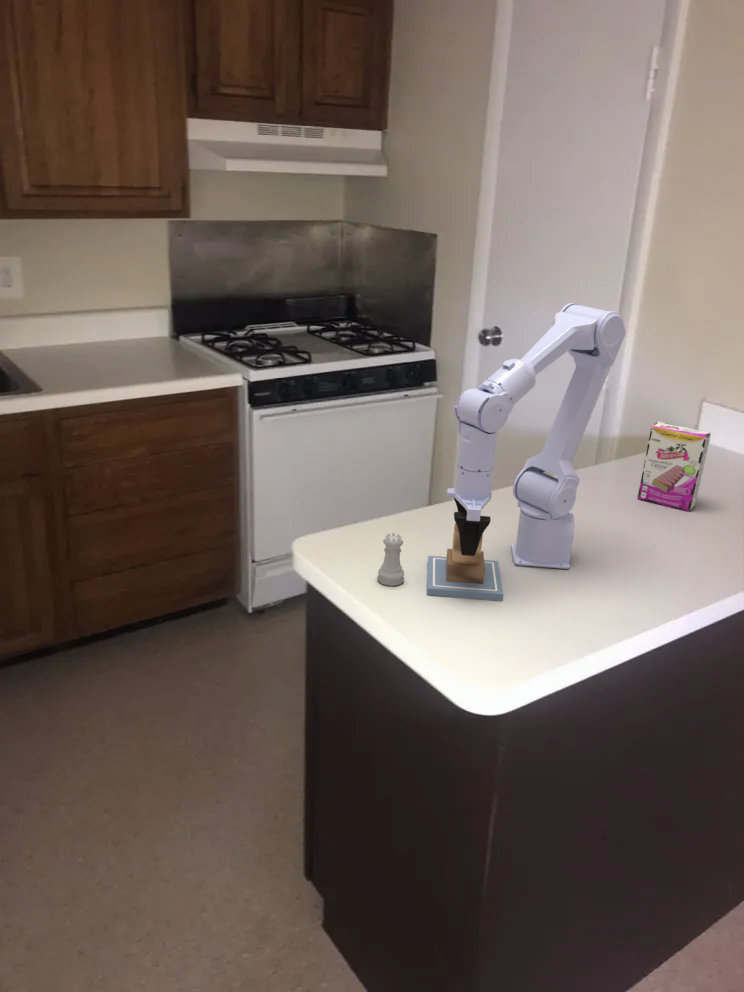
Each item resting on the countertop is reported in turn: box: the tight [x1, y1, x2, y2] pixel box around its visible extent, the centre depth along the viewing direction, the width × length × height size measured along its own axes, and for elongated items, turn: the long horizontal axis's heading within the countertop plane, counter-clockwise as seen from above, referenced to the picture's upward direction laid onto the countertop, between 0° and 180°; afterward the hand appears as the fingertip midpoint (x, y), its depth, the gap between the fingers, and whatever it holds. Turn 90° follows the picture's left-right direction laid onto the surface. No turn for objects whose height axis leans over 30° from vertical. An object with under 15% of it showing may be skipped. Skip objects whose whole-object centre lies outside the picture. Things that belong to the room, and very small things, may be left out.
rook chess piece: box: [377, 532, 405, 587], centre depth 134 cm, size 4×4×8 cm
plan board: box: [426, 548, 504, 602], centre depth 136 cm, size 12×12×4 cm
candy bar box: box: [637, 421, 712, 512], centre depth 172 cm, size 11×5×16 cm, turn 58°
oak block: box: [451, 523, 484, 565], centre depth 135 cm, size 4×4×5 cm
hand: (467, 544), depth 135 cm, fingers open, 7 cm apart
